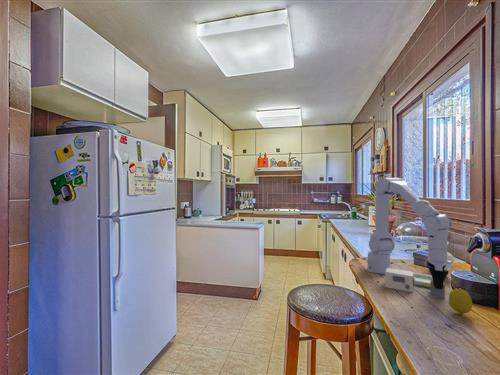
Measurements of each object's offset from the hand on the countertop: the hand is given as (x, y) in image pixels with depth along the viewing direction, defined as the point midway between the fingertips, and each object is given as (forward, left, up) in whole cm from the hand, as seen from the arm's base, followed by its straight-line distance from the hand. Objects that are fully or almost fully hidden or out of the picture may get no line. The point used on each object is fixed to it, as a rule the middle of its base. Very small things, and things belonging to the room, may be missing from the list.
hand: (437, 285), depth 91 cm
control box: (-12, +1, -4) cm, 13 cm away
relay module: (0, 0, -4) cm, 4 cm away
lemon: (+5, -13, -4) cm, 14 cm away
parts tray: (-3, +12, -4) cm, 13 cm away
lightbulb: (+4, +25, -4) cm, 26 cm away
